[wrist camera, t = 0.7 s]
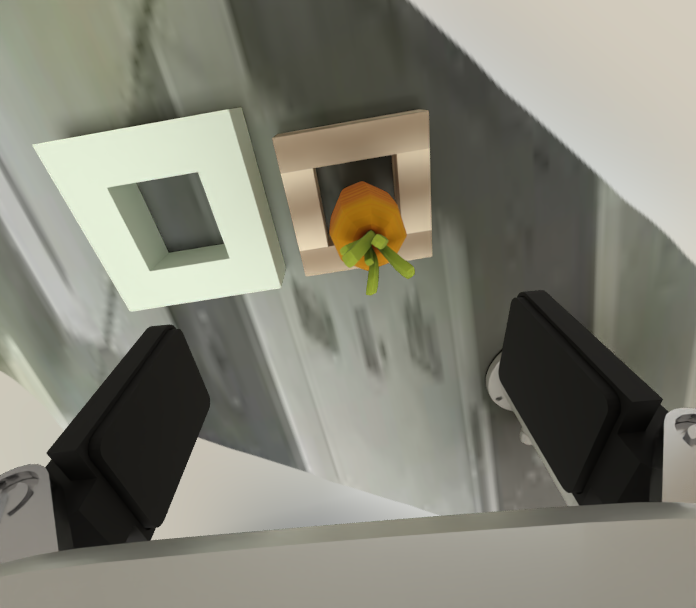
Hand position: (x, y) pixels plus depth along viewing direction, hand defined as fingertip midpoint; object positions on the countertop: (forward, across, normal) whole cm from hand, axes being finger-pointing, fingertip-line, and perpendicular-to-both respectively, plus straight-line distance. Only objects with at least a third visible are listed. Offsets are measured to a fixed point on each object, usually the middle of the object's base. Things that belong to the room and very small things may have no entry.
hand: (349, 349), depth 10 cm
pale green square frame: (+23, +14, +1) cm, 27 cm away
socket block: (+23, -2, +1) cm, 23 cm away
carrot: (+23, -2, +1) cm, 23 cm away
